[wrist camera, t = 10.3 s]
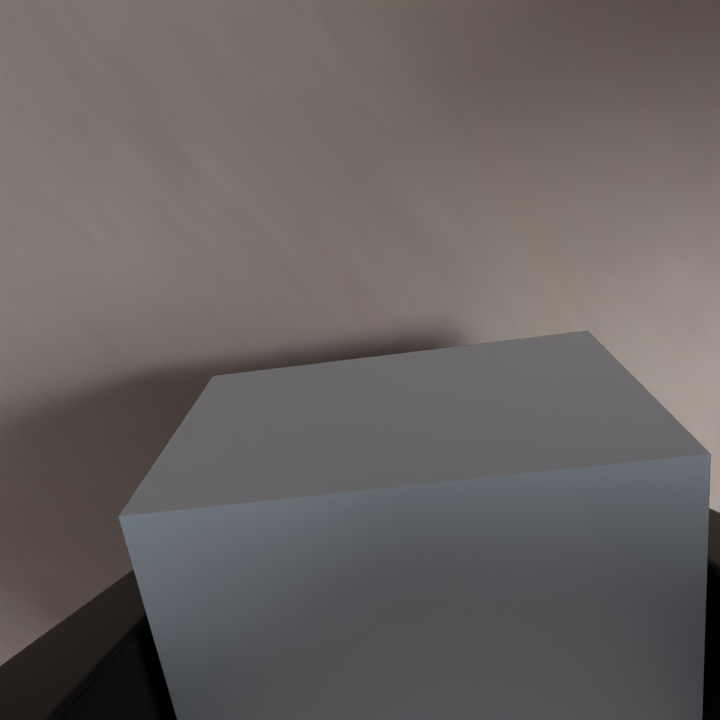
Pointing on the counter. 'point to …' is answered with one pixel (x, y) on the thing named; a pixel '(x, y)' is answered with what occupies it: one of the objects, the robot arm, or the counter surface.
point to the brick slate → (429, 541)
